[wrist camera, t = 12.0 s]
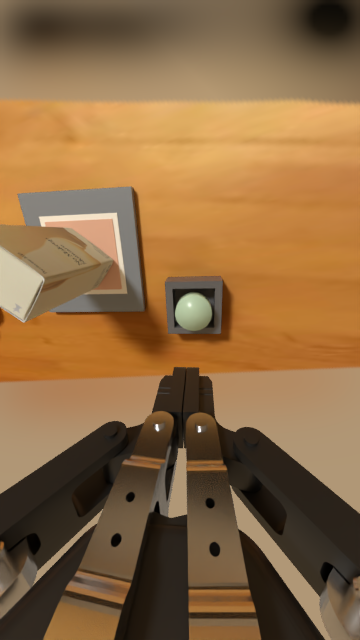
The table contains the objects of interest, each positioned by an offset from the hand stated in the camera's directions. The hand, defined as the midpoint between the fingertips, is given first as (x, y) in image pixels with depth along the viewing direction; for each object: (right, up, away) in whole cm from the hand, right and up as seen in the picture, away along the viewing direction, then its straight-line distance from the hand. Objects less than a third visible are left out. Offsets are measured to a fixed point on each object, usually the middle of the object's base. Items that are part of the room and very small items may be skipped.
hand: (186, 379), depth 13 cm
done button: (+1, +5, +12) cm, 13 cm away
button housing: (+1, +6, +15) cm, 16 cm away
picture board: (-12, +11, +14) cm, 21 cm away
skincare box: (-12, +11, +13) cm, 21 cm away
